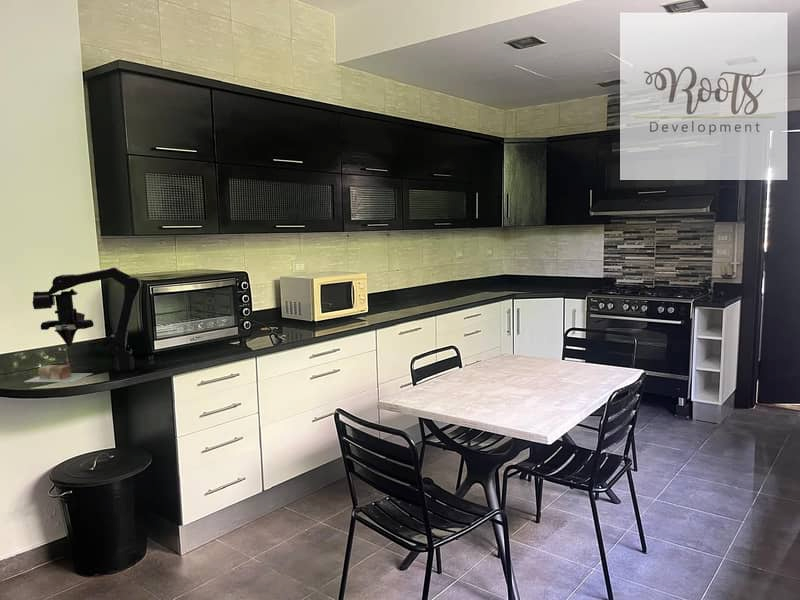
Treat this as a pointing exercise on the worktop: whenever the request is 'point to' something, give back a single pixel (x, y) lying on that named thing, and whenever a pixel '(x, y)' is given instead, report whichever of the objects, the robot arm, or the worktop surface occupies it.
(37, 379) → the board
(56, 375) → the maple block
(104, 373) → the worktop surface
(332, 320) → the worktop surface
